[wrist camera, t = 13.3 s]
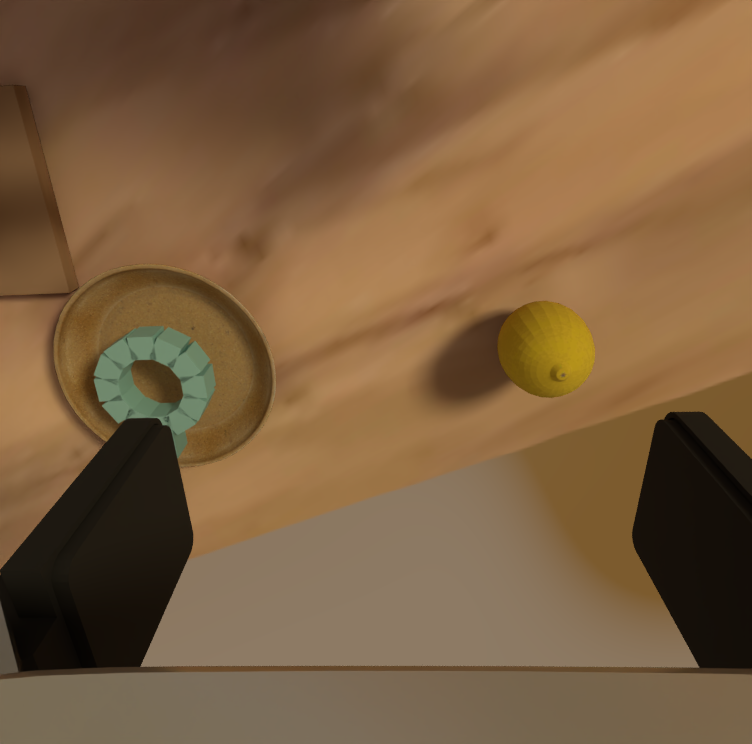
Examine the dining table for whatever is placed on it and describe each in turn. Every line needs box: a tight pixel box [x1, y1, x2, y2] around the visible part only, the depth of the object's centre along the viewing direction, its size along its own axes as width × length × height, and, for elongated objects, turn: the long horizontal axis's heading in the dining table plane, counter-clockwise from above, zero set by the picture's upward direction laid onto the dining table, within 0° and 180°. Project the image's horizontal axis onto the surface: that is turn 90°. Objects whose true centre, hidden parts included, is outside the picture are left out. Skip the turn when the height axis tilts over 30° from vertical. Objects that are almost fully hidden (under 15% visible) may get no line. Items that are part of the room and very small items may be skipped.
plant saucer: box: [53, 264, 276, 467], centre depth 39 cm, size 15×15×3 cm
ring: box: [94, 326, 216, 458], centre depth 37 cm, size 9×7×2 cm
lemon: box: [497, 301, 595, 398], centre depth 35 cm, size 6×6×8 cm
